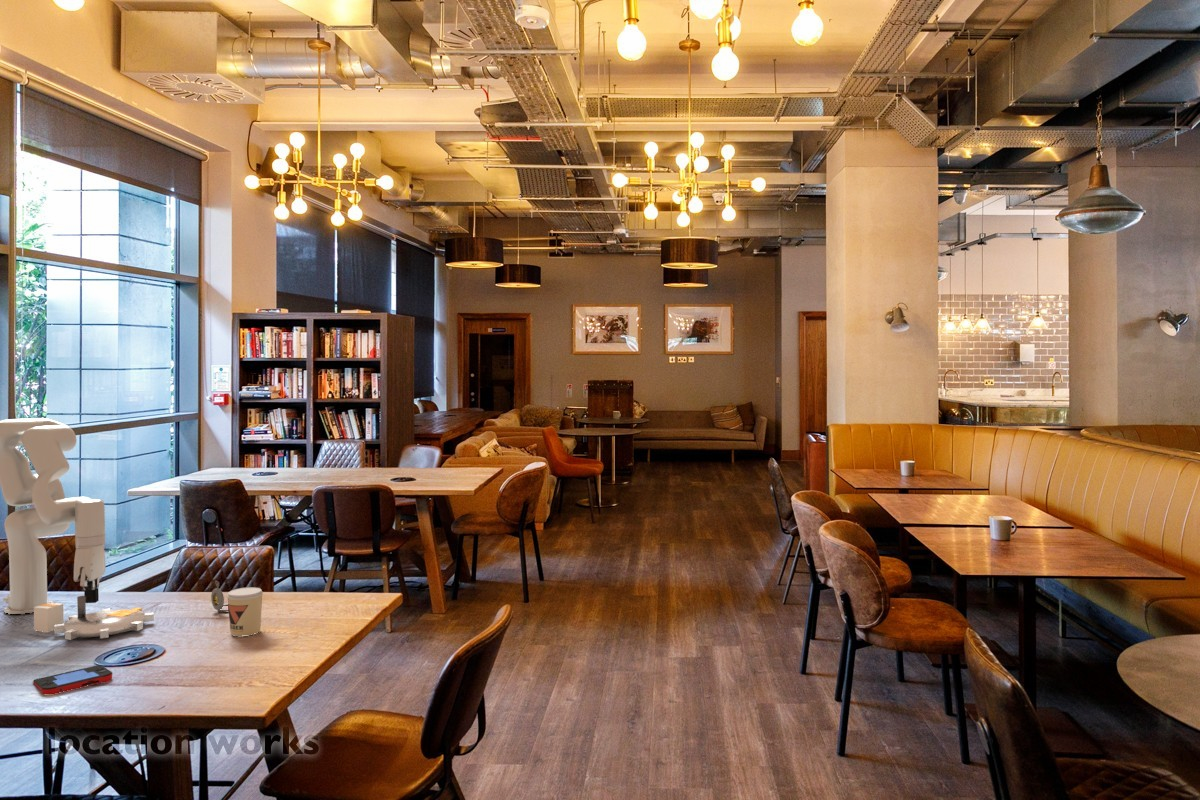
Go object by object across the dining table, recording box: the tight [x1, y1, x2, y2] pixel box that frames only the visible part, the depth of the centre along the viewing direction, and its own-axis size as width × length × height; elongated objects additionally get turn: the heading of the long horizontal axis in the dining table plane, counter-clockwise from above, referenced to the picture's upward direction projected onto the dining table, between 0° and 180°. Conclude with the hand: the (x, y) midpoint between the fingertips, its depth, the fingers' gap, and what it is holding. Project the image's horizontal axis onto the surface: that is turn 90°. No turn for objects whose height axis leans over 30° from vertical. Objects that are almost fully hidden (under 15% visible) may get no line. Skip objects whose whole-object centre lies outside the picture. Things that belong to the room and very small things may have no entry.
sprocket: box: [53, 595, 155, 641], centre depth 235 cm, size 24×24×8 cm
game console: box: [32, 664, 113, 695], centre depth 195 cm, size 14×13×2 cm
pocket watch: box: [210, 580, 229, 612], centre depth 254 cm, size 8×8×10 cm
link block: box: [33, 602, 65, 633], centre depth 235 cm, size 5×5×7 cm
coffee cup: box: [226, 586, 264, 636], centre depth 232 cm, size 9×9×12 cm
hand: (91, 602), depth 243 cm, fingers closed
